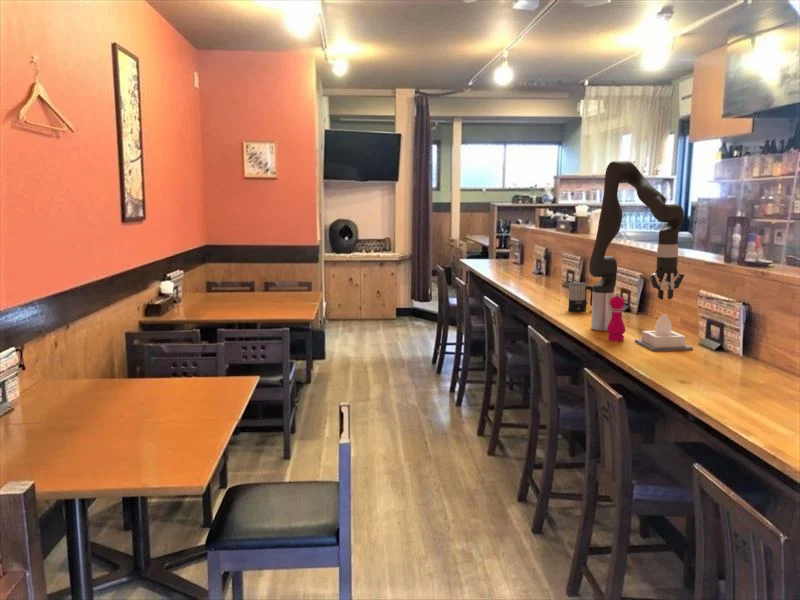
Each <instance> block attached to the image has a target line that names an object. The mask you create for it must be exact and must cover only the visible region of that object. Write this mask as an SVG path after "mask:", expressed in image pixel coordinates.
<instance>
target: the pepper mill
mask: <svg viewBox="0 0 800 600" xmlns="http://www.w3.org/2000/svg"><path fill="white" fill-rule="evenodd" d="M610 305H611V307H612V308H611V312H612V317H611V320H610V322H609V324H608V327H607V331H606V332H608V335H607V338H608V339H609V340H608V341H611V340H612V341H611V342H623V341H624V338H625V336H624V334H625V332H626V325H625V323H624V320H623V312H624V307H625V305H626V301H625V299H624V298H623V297H622V296H621V295H620V293H619V292H616V293H614V297H612V298H611V300H610Z"/></svg>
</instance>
